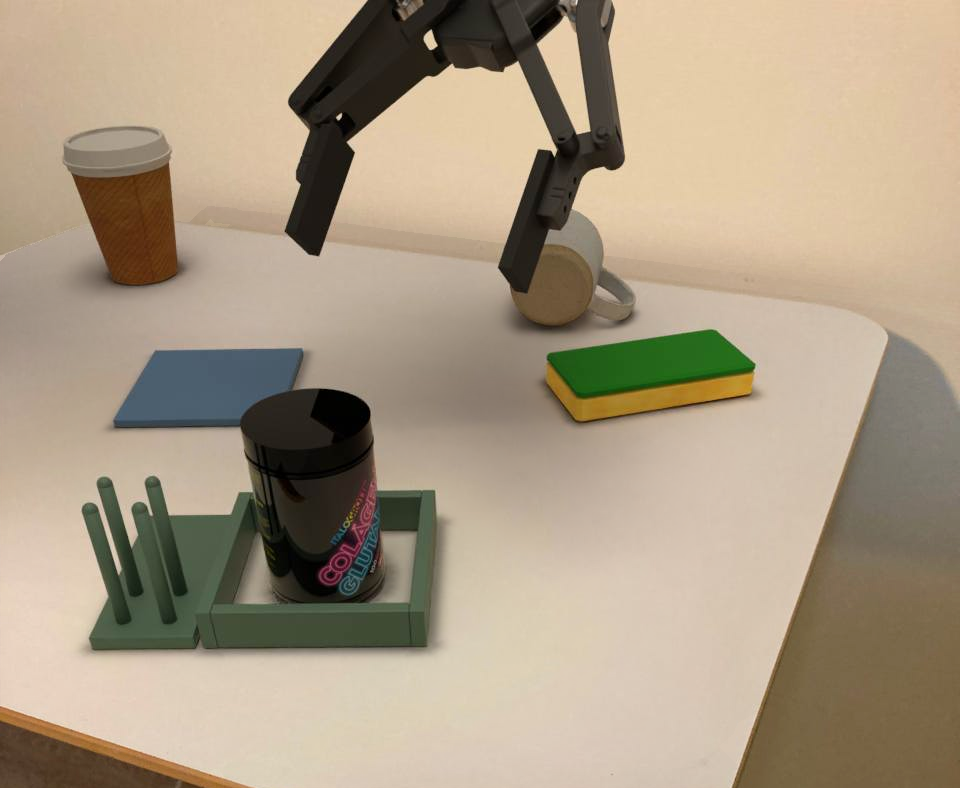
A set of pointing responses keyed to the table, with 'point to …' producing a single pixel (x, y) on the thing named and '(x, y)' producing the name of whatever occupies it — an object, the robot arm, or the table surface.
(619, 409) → the dish sponge
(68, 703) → the table surface
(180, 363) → the blue mat
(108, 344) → the table surface
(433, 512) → the dish rack
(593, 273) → the ceramic mug
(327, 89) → the robot arm
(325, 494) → the supplement container
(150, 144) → the disposable coffee cup
